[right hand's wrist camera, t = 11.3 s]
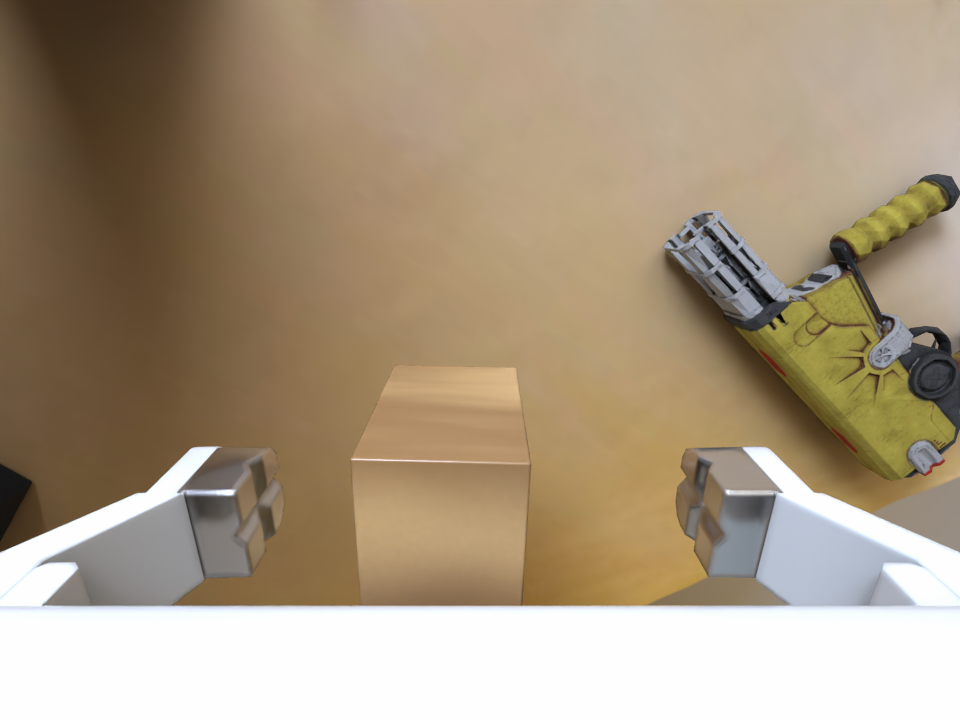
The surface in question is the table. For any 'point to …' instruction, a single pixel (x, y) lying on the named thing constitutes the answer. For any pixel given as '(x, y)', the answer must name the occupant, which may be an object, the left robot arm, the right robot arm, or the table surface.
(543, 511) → the table surface
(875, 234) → the toy gun
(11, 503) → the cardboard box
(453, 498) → the bar
